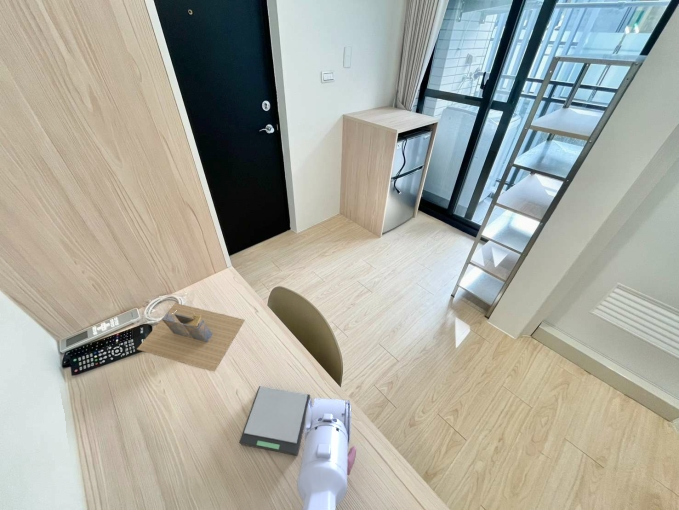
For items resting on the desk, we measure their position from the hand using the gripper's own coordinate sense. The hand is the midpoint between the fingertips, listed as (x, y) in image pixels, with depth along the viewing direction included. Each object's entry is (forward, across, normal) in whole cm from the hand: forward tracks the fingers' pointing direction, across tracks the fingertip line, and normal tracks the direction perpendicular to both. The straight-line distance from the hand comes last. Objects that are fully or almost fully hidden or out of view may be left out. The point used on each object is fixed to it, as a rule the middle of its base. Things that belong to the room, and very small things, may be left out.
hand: (331, 453), depth 55 cm
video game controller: (+2, 0, 0) cm, 2 cm away
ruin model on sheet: (+5, -23, -46) cm, 51 cm away
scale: (+4, -5, -14) cm, 16 cm away
